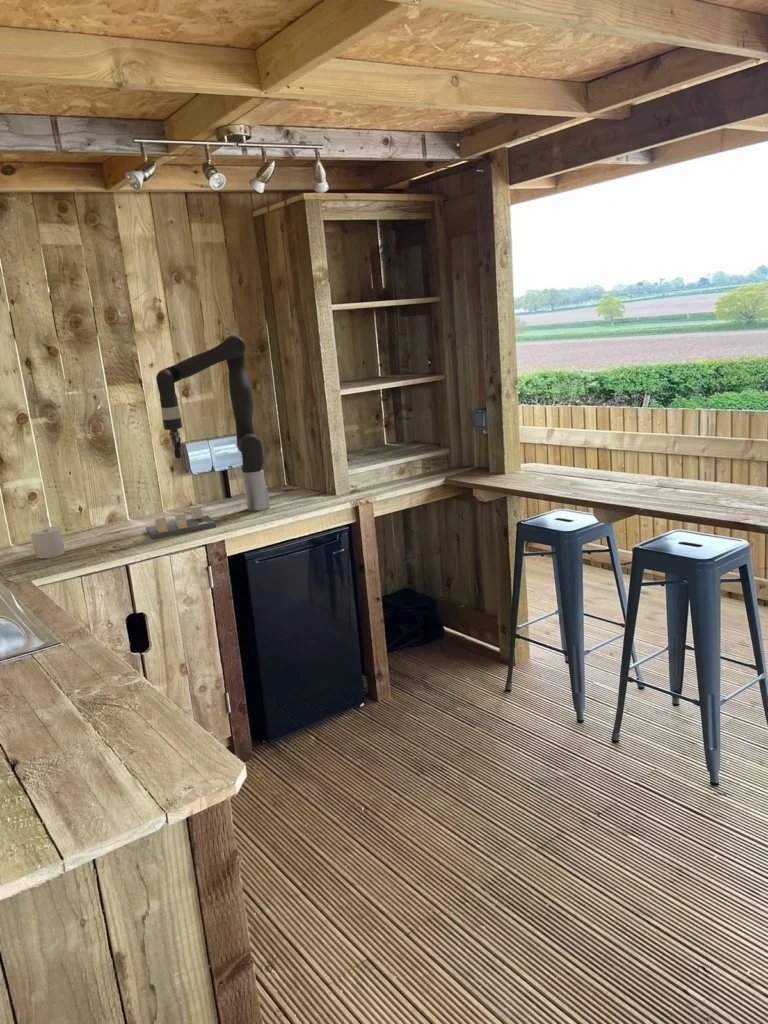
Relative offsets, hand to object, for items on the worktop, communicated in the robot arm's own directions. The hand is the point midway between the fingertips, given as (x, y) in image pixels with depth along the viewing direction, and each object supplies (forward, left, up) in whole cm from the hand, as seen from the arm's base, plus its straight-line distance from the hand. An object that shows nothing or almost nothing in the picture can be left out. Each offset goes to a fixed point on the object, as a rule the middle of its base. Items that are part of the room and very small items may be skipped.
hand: (178, 457), depth 333 cm
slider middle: (+6, +19, -25) cm, 32 cm away
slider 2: (-2, +12, -25) cm, 27 cm away
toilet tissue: (+57, +15, -27) cm, 65 cm away
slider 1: (+14, +19, -25) cm, 34 cm away
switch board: (+6, +16, -27) cm, 32 cm away
